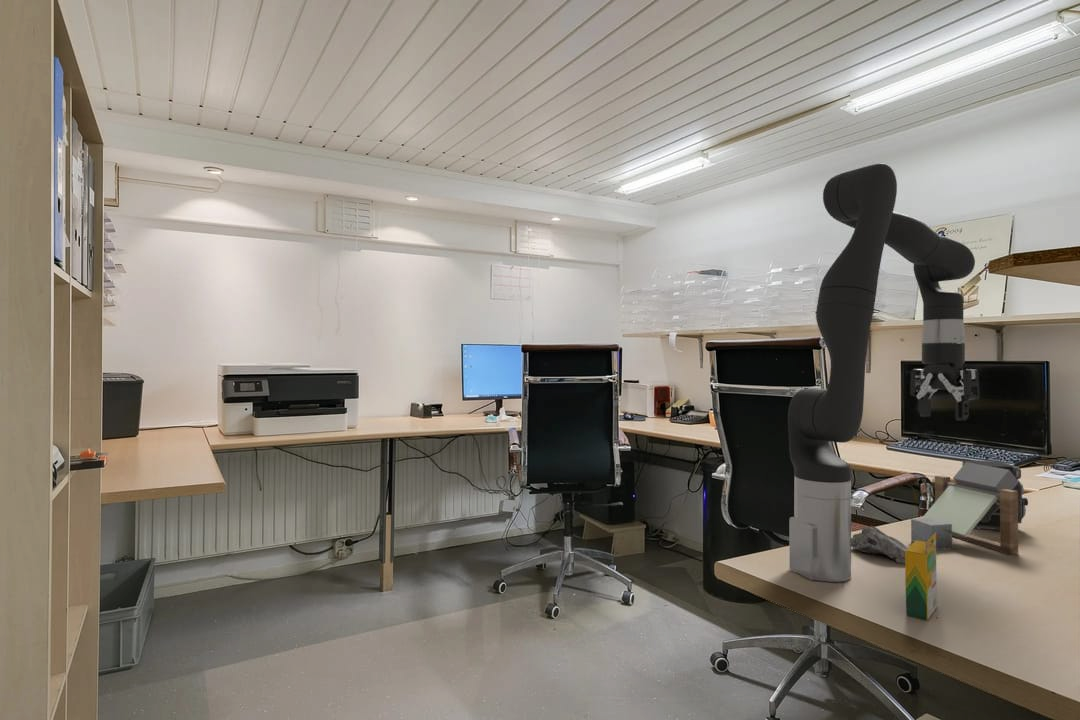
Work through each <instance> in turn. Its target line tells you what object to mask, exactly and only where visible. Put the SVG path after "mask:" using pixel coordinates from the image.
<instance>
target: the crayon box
mask: <svg viewBox="0 0 1080 720" xmlns="http://www.w3.org/2000/svg"><path fill="white" fill-rule="evenodd" d="M931 540H933V543H930V542H931ZM904 568H905V570H904V571H905V572H904V573H905V580H904V581H905V613H906V616H908V617H911V616H912V618H916V619H919V620H923V621H929V619H930V618H931V616H932V615H933V614H934V612H935V610H936V608H938V586H937V585H938V584H937V581H938V580H937V579H938V577H937V549H936V532H935V533H934V534H933V535H932V536H931V537H930V538H929V539H928V541H927V542H923V541H915V542H914V543H911V545H909V547H908V549H907V550H906V551H905V564H904Z"/></svg>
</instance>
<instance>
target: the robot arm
mask: <svg viewBox="0 0 1080 720" xmlns="http://www.w3.org/2000/svg"><path fill="white" fill-rule="evenodd" d="M897 195H898V182H897V176H896V173H895V171H894V169H893V168H892V167H891V166H890V165H888V164H886V163H883V162H879V163H874V164H869V165H864V166H861V167H858V168H855V169H852V170H848V171H845V172H841V173H838V174H837V175H834V176H832V177H831V178H830V179H828V181H827V182H826V183H825V186H824V188H823V191H822V202H823V204H824V208H825V210H826V212H827V213H828V214H829V216H830V217H832V218H833V219H834V220H835V221H837V222H840V223H841V224H843V225H846V226H848V227H850V228H852V229H854V231H853V233H852V234H851V237H850V239H849V240H848V243H847V244H846V245H845V247H844V248H843V250H842V251H841V253H840V254H839V255H838V256H837V257H836V259H835V261H834V262H833V263H832V264H831V266H830V267H829V269H828V270H827V271H826V274H825V275H824V277H823V278H822V281H821V284H820V287H819V292H818V298H817V305H816V313H815V317H816V318H815V319H816V324H817V327H818V330H819V332H820V334H821V337H822V340H823V342H824V344H825V346H826V348H827V351H828V354H829V359H830V360H829V361H830V369H829V371H830V373H829V375H830V376H829V380H828V386H827V388H803V389H800V390H798V391H797V392H795V394H794V395H793V396H792V398H791V400H790V402H789V406H788V412H787V424H788V425H787V427H788V428H787V430H788V446H789V447H788V448H789V449H788V450H789V457H790V461H791V464H792V465H793V475H794V478H793V479H794V486H793V487H794V491H793V492H794V493H793V496H794V497H793V498H794V499H793V501H794V505H793V509H794V511H793V513H794V516H791V517H789V521H788V522H789V525H788V527H789V528H788V529H789V534H788V535H789V536H788V537H789V541H788V542H789V570H790V571H793V572H795V573H796V574H799V575H801V576H802V577H804V578H806V579H808V580H810V581H823V582H830V583H831V582H832V583H833V582H834V583H835V582H836V583H841V582H846V581H848V580H850V579H852V547H851V538H852V469H851V465H850V463H848V462H847V461H845V460H844V459H842V458H841V457H839V456H838V455H837V454H836V453H835V452H834V451H833V450H832V448H831V446H830V442H833V443H841V444H843V443H848V442H850V441H851V440H853V439H854V438H855V437H856V436H857V434H858V432H859V429H860V428H861V425H862V420H863V412H864V402H865V401H864V399H865V397H864V396H865V375H866V363H867V362H866V361H867V353H868V345H869V339H870V338H869V337H870V331H871V325H872V319H873V316H874V309H875V304H876V297H877V288H878V281H879V275H880V268H881V262H882V257H883V252H884V247H885V245H886V246H888V247H889V248H891V249H892V250H894V251H895V252H897V253H898V254H899V255H900V256H902V258H904V259H905V260H907V262H909V263H912V264H913V266H912V267H913V273H914V276H915V280H916V283H917V286H918V289H919V292H920V295H921V296H920V297H921V299H922V305H923V308H922V309H923V310H922V311H923V312H922V313H923V314H922V327H921V328H922V329H921V363H922V364H923V365H924V368H912V369H911V370H910V385H909V386H910V387H909V395H910V396H911V397H915V398H917V400H918V413H919V416H920V417H924V418H927V417H931V415H932V399H931V397H932V396H933V395H934V393H936V392H937V391H938V390H942V391H943V390H944V391H945V390H947V391H948V392H949V393H950V394H951V395H952V396H953V398H954V399H955V400H956V401H955V402H954V403H955V407H954V409H955V412H954V413H955V416H954V417H955V420H956V421H967V420H968V418H969V416H970V402H971V401H974V400H978V399H980V398H981V397H980V380H979V370H978V369H972V368H969V369H968V368H966V369H963V365H964V363H965V362H966V339H965V338H966V329H965V325H964V324H965V323H964V296H963V294H961V293H960V292H957V291H952V290H951V291H950V290H949V291H948V290H943V289H942V287H941V286H940V283H939V282H946V281H954V280H955V281H956V280H961V279H964V278H966V277H968V276H969V275H971V274H972V272H973V270H974V269H975V265H976V264H975V263H976V259H975V256H974V253H973V252H972V251H971V250H970V248H969V247H968V246H967V245H965V244H964V243H961V242H959V241H956V240H954V239H952V238H948V237H946V236H943V235H940V234H937V232H936V231H934V230H933V229H932V228H931V227H930V226H928V225H927V224H926V223H925V222H923V221H922V220H921V219H920V220H919V219H918V218H915V217H914V216H910V215H907V214H903V213H901V212H896V211H894V209H895V206H896V200H897ZM962 380H963V381H962Z"/></svg>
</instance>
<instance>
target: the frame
mask: <svg viewBox="0 0 1080 720" xmlns="http://www.w3.org/2000/svg"><path fill="white" fill-rule="evenodd" d="M946 482H950V483H951V477H950V476H947V475H946V476H945V475H934V503H935V502H936V501H937V500H938V498H939V497H940V496H941V495H942V494H943V492H944V491H945V490H946V489H947V488H948V486H946V485H945V484H946ZM999 533H1000V534H999V535H1000V538H999V540H1000V541H999V542H997V541H993V540H989V539H987V538H984V537H981V536H977V535H973V534H971V533H969V535H968V536H967V537H963V536H960V535H957V534H954V533H952V537H953V536H954V538H956V537H957V538H956V539H960V540H963V541H967V542H970V543H973V544H975V543H976V545H978V544H979V545H978V546H982V547H985V548H988V549H991V550H995V551H998V552H1001V553H1005V554H1006V555H1007V554H1008V555H1019V523H1018V491H1014V490H1009V489H1003V490H1000V530H999Z"/></svg>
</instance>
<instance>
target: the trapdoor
mask: <svg viewBox="0 0 1080 720" xmlns="http://www.w3.org/2000/svg"><path fill="white" fill-rule="evenodd" d="M952 479H953V481H954V482H955V483H954V482H951V481H950V482H946V484H945V485H946V486H948V488H947V489H946V490H945V491H944V492H943V494H942V495H941V496H940V497H939V498H938V500H937V501H936V502H935V501H934V503H933V504H932V506H931V507H929V509H928V510H927V511H926V513H925V514H923V516H922V518H933V519H937V520H940V521H944V522H947V523H950V524H952V533H954V534H957V535H960V536H963V537H967V536H968V535H969V534H971V533H972V531H973V530H974V528H976V525H977V523H978V522H979V521H980V520H981V519H982V517H983V516H984V515H985V514H986V512H987V511H988V510H989V509H990V507H991V506H992V505H993V504H994V502H995V501H996V500H997V499H998V498H1000V490H1003V489H1009V490H1013V489H1014V487H1015V486H1016V485H1017V484H1018V482H1019V481H1020V480H1019V479H1018V480H1019V481H1018V480H1017V479H1016V478H1015V476H1014V475H1013V474H1012V473H1011V471H1010V470H1008V469H1002V468H996V467H991V466H985V465H979V464H974V463H968V462H966V463H965V464H964V465H963V466H961V468H960V469H959V470H958V471H957V473H955V475H954V476H953V477H952Z"/></svg>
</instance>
